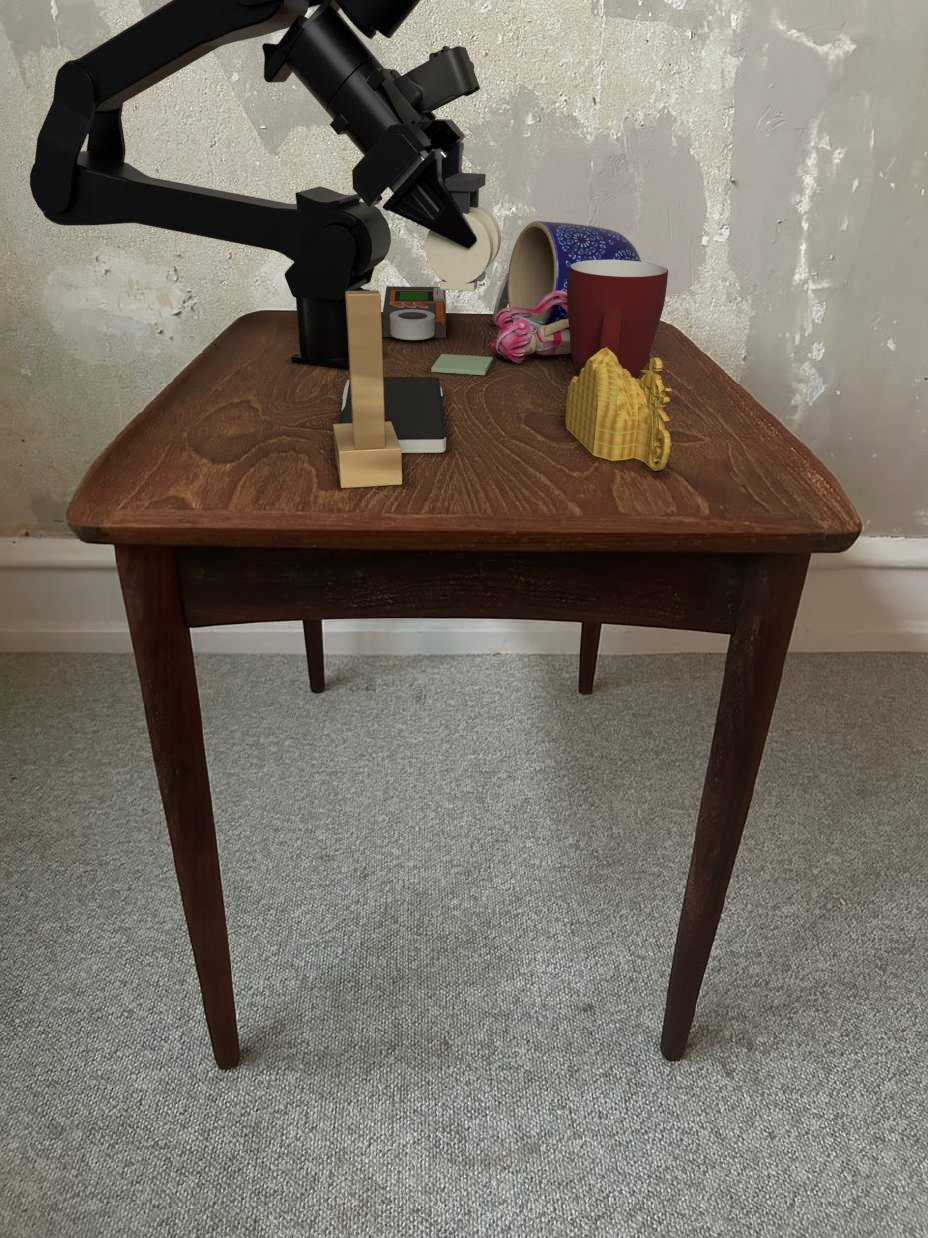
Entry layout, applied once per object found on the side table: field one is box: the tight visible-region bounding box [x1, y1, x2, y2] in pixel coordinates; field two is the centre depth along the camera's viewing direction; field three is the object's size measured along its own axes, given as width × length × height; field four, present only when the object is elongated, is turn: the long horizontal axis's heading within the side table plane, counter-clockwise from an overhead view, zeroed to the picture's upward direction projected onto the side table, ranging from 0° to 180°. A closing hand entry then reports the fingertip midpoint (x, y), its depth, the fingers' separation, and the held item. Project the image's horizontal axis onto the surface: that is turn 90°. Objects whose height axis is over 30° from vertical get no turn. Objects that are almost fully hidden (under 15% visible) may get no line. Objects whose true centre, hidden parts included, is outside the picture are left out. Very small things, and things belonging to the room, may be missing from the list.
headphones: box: [424, 172, 502, 292], centre depth 76 cm, size 6×6×9 cm
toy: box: [486, 290, 571, 364], centre depth 83 cm, size 7×6×15 cm
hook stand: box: [332, 289, 403, 489], centre depth 56 cm, size 6×4×12 cm, turn 11°
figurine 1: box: [492, 272, 510, 326], centre depth 94 cm, size 6×6×8 cm
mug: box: [567, 260, 669, 379], centre depth 73 cm, size 10×8×10 cm
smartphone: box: [338, 376, 447, 454], centre depth 68 cm, size 8×1×15 cm
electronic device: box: [381, 285, 447, 341], centre depth 95 cm, size 7×3×15 cm
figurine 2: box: [564, 347, 673, 472], centre depth 62 cm, size 4×12×7 cm, turn 14°
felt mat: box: [430, 353, 494, 376], centre depth 82 cm, size 5×5×1 cm
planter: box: [507, 220, 642, 330], centre depth 89 cm, size 11×11×11 cm
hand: (479, 238), depth 76 cm, fingers closed on headphones, 6 cm apart
